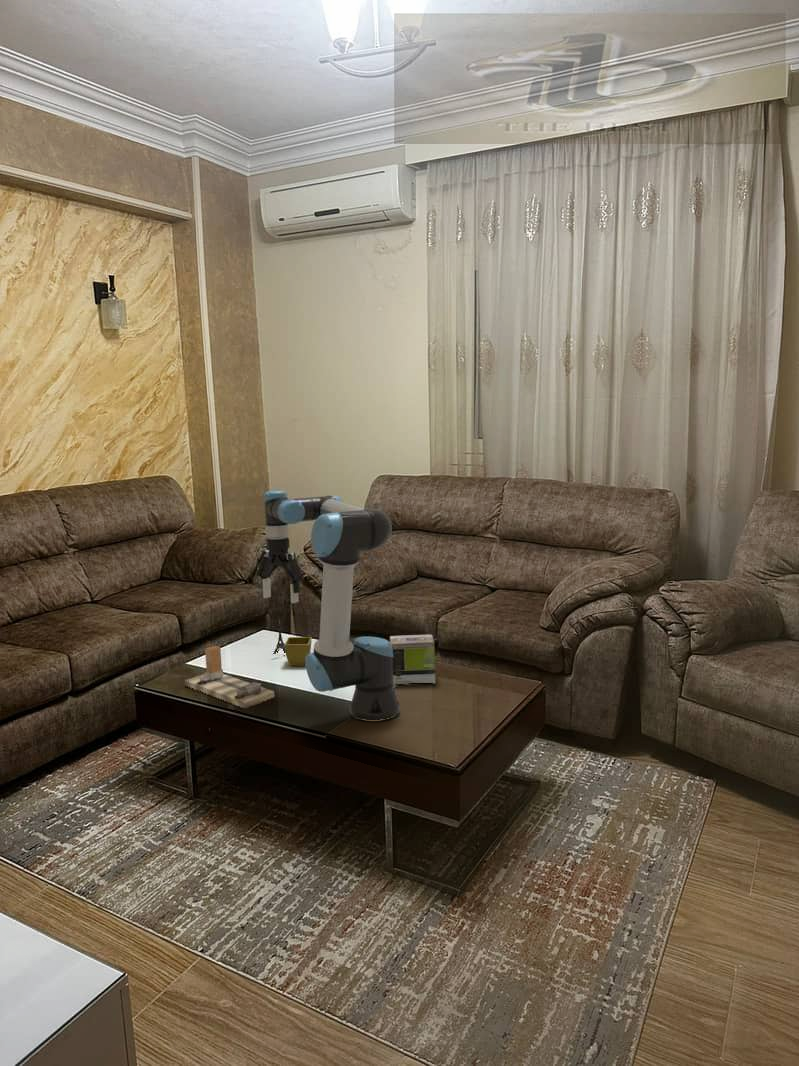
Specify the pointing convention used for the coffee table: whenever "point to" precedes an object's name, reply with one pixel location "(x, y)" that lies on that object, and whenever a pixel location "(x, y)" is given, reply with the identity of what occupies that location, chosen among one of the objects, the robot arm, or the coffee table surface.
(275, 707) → the coffee table surface
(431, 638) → the tea box
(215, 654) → the slide leg
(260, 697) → the gauge board
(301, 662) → the flower pot
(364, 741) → the coffee table surface
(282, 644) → the eiffel tower figurine
